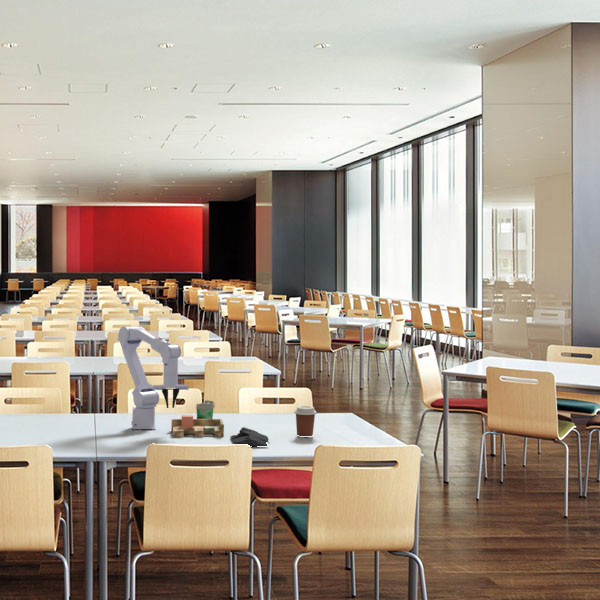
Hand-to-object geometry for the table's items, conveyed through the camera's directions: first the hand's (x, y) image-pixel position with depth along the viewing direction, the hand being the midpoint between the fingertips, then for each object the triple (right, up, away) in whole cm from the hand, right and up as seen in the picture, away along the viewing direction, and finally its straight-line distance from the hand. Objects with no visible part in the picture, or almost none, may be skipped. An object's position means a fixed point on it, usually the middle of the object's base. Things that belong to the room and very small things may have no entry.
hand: (170, 407), depth 341 cm
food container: (+13, -11, +20) cm, 26 cm away
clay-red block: (+7, -8, +2) cm, 11 cm away
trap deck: (+11, -11, -1) cm, 15 cm away
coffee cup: (+55, -12, 0) cm, 56 cm away
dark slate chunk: (+33, -12, -15) cm, 39 cm away
